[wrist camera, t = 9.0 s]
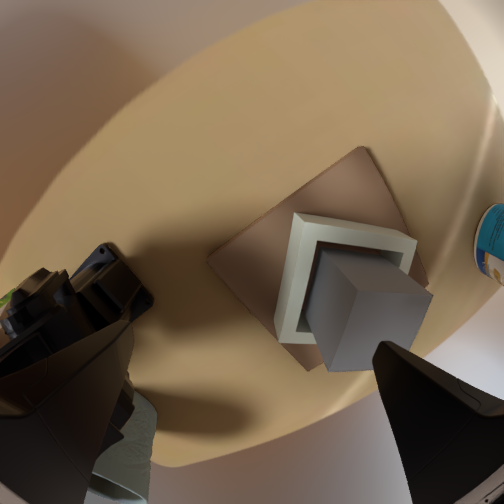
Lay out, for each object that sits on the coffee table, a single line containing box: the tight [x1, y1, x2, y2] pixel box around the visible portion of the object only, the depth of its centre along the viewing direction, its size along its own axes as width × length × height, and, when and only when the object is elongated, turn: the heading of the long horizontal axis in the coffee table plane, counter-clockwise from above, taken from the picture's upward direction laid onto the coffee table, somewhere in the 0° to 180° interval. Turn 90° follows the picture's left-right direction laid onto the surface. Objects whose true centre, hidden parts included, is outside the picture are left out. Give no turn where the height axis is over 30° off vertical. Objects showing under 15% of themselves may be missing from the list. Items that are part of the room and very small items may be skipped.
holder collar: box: [274, 212, 418, 344], centre depth 19 cm, size 9×9×3 cm
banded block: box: [302, 241, 433, 372], centre depth 16 cm, size 5×5×8 cm
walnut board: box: [206, 146, 429, 371], centre depth 21 cm, size 14×14×1 cm
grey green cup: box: [87, 391, 157, 504], centre depth 20 cm, size 10×10×12 cm
